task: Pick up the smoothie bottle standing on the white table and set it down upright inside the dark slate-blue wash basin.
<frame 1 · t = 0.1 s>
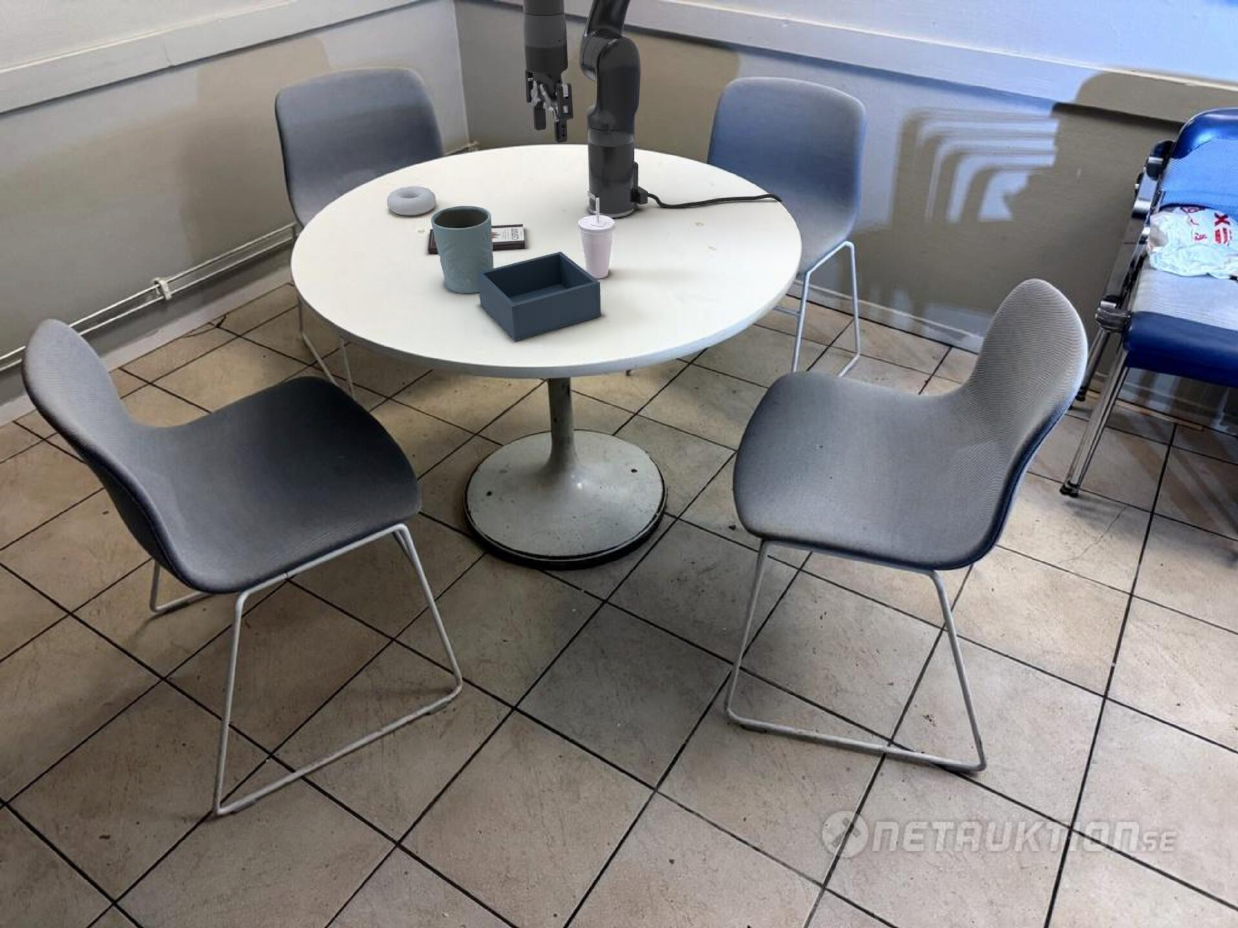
hand: (550, 135, 156), 17 cm above the table, tool pointing down, fingers open, 8 cm apart
donut: (413, 209, 173), on the table
basin: (540, 311, 139), on the table
blue-green cup: (469, 283, 147), on the table
smoothie: (597, 274, 150), on the table
chocolate bar: (477, 241, 160), on the table
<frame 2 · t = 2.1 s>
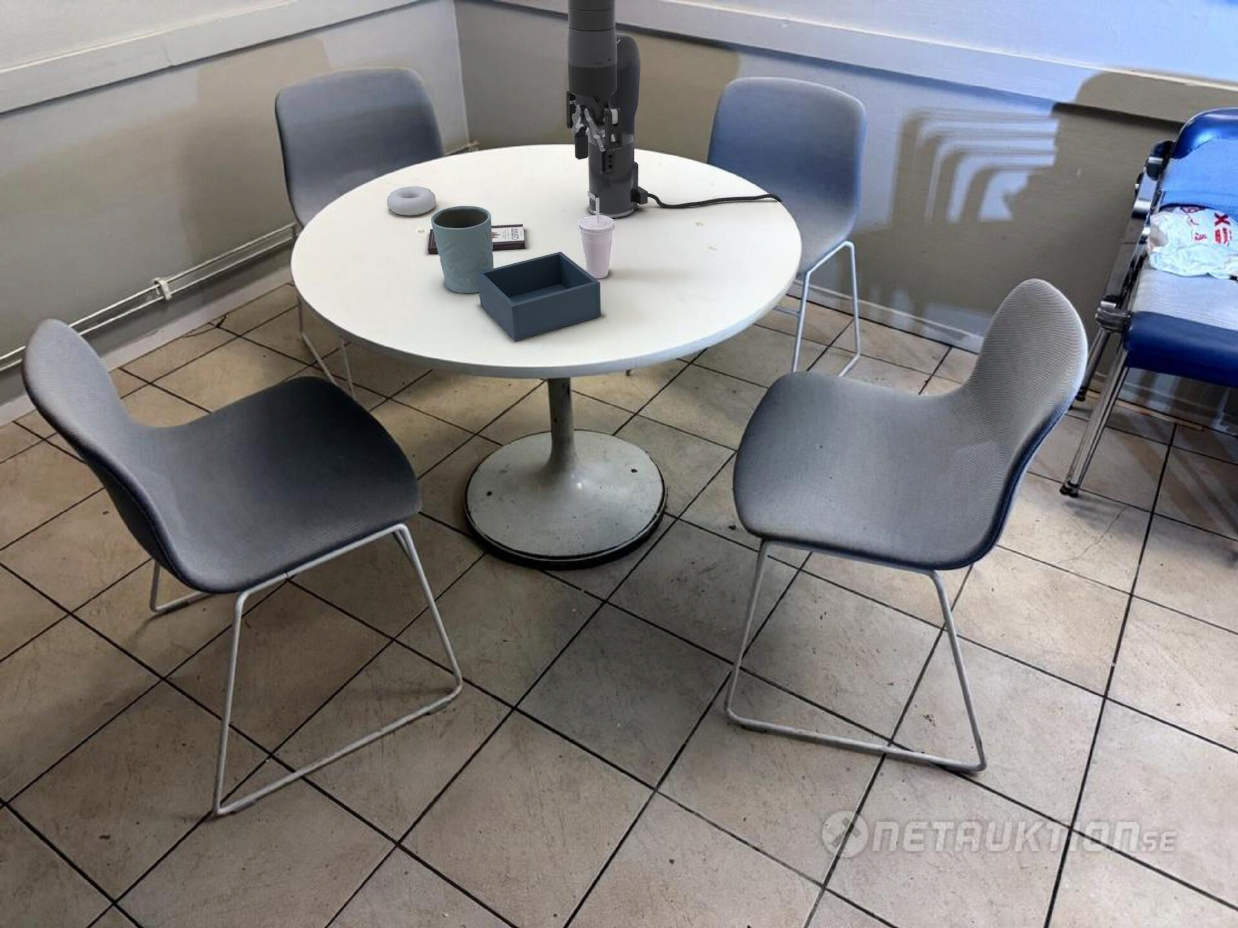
hand: (594, 166, 137), 19 cm above the table, tool pointing down, fingers open, 8 cm apart
nothing on the table moved.
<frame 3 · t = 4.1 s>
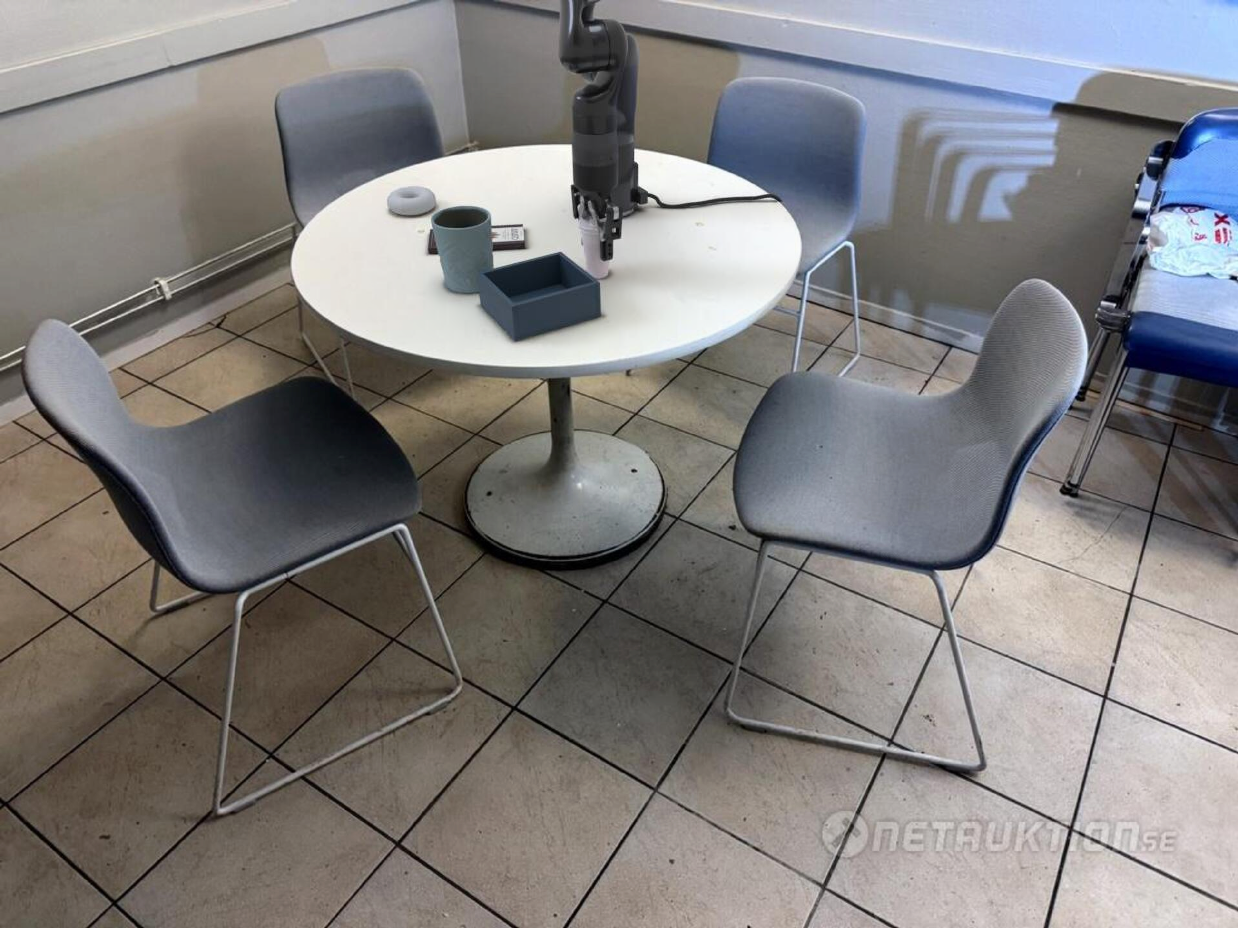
hand: (597, 252, 147), 4 cm above the table, tool pointing down, fingers closed on smoothie, 6 cm apart
smoothie: (597, 274, 150), on the table, touching gripper
everything else where it was.
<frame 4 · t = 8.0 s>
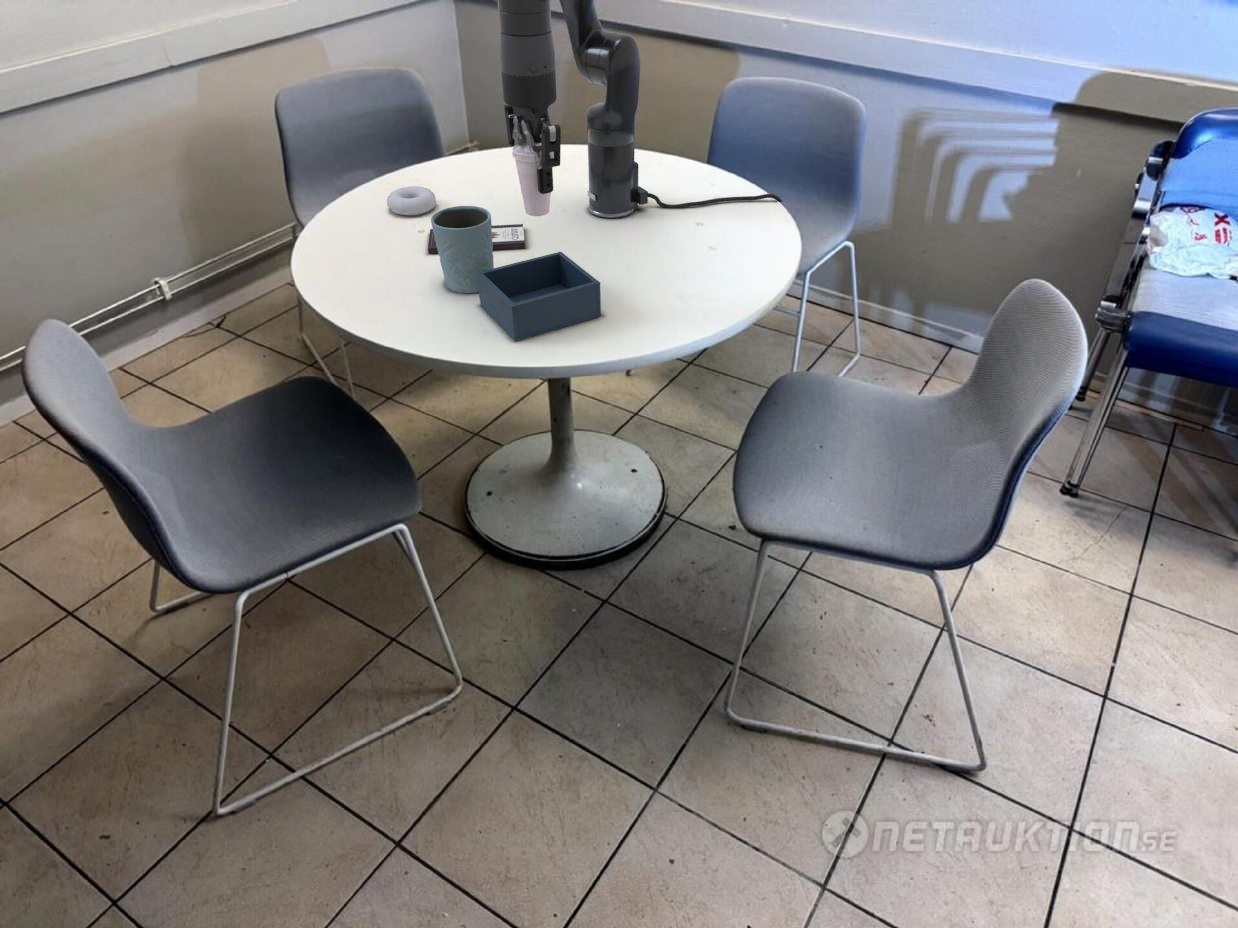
hand: (535, 185, 127), 21 cm above the table, tool pointing down, fingers closed on smoothie, 6 cm apart
smoothie: (537, 212, 129), point 17 cm above the table, touching gripper
everything else where it was.
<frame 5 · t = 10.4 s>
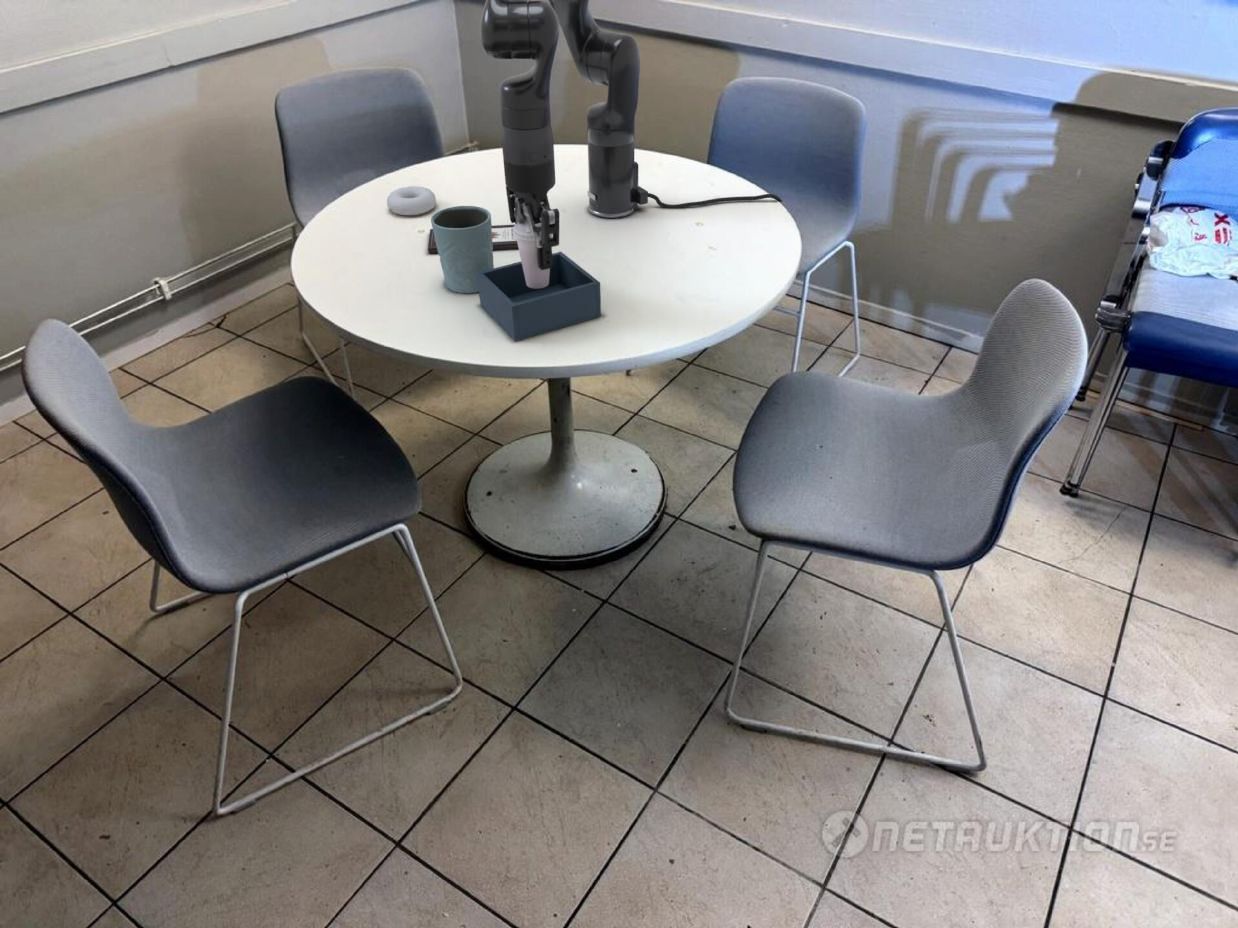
hand: (535, 259, 133), 9 cm above the table, tool pointing down, fingers closed on smoothie, 6 cm apart
smoothie: (537, 284, 136), point 5 cm above the table, touching gripper
everything else where it was.
when the fingers open (5 cm above the table, at t = 12.1 s): smoothie stays where it is, resting on basin.
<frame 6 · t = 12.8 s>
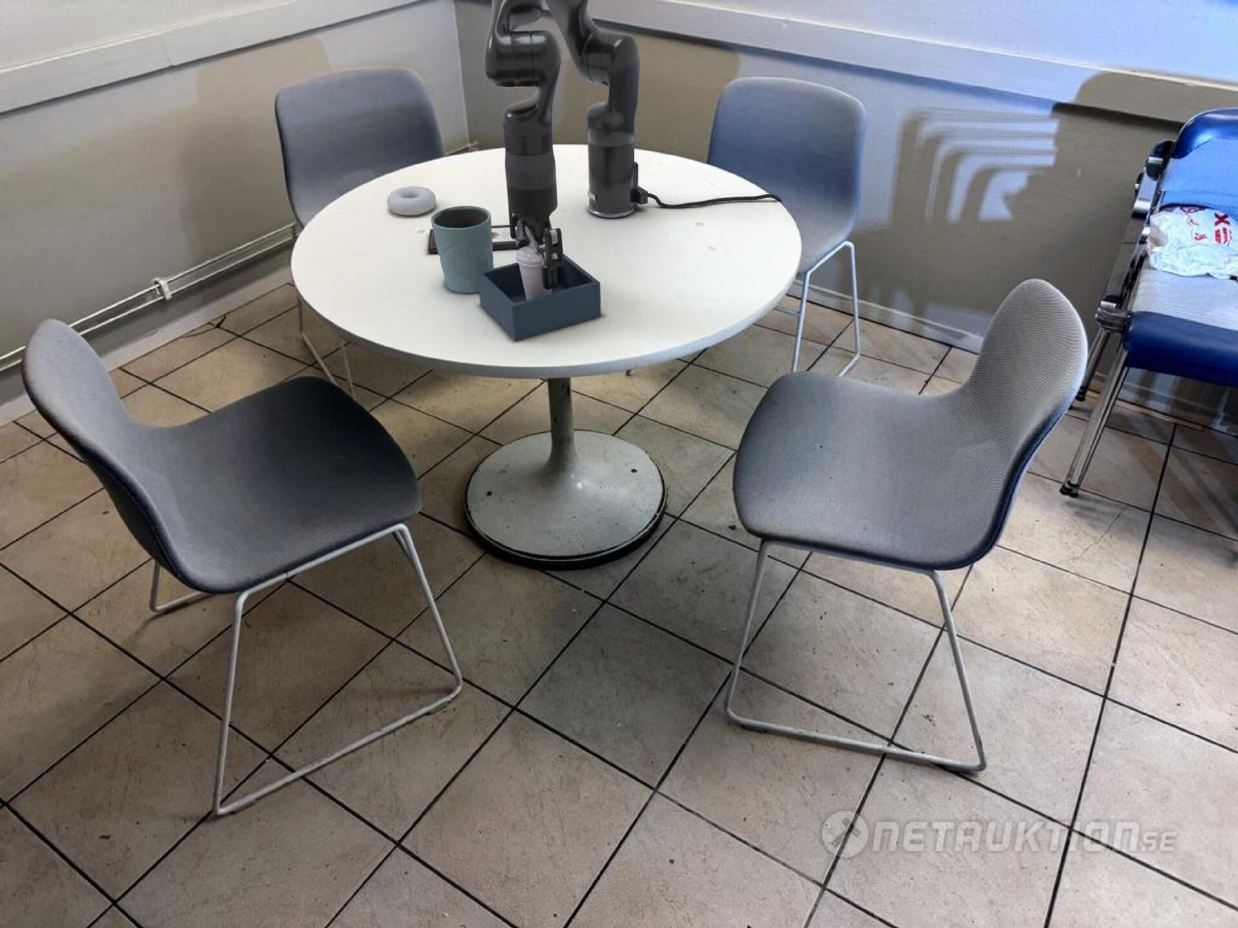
hand: (538, 277, 135), 6 cm above the table, tool pointing down, fingers open, 8 cm apart
smoothie: (539, 308, 139), resting on basin
everything else where it was.
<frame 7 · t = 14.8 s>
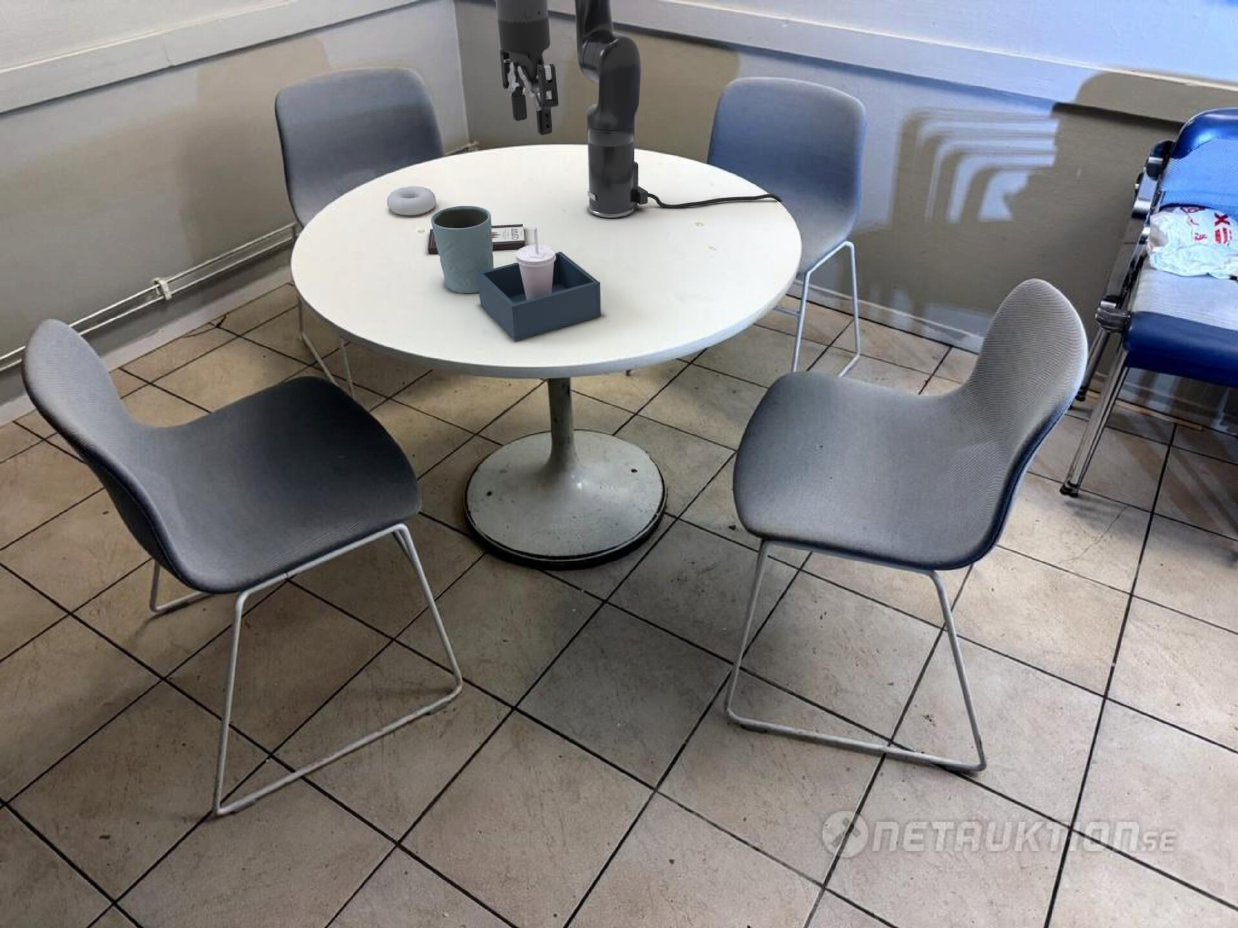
hand: (532, 126, 133), 26 cm above the table, tool pointing down, fingers open, 8 cm apart
nothing on the table moved.
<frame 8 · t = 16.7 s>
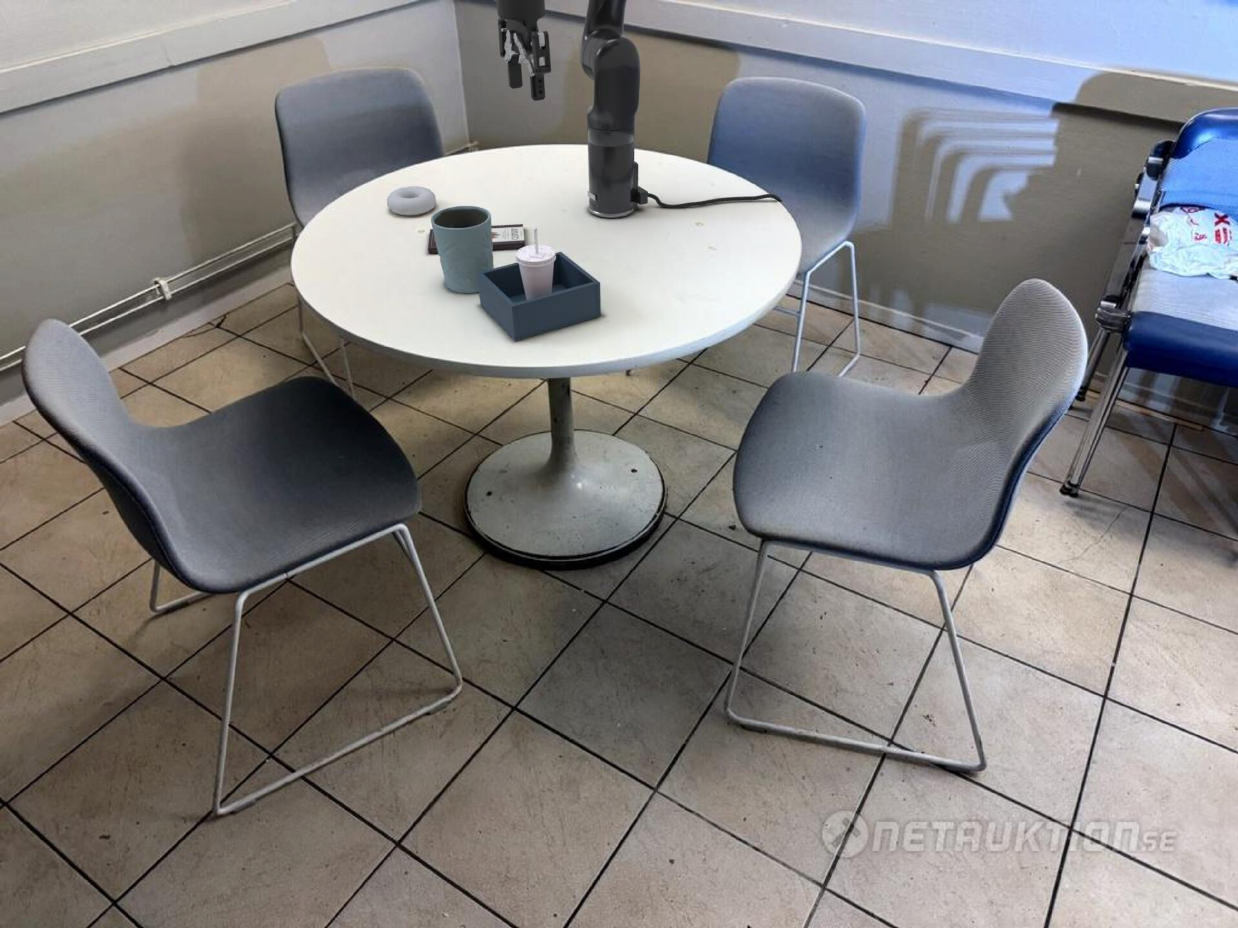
hand: (526, 93, 139), 28 cm above the table, tool pointing down, fingers open, 8 cm apart
nothing on the table moved.
at the end: smoothie inside the target area in the basin (0.2 cm from its centre), point 0.4 cm above the basin's base; smoothie tilted 0° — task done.
